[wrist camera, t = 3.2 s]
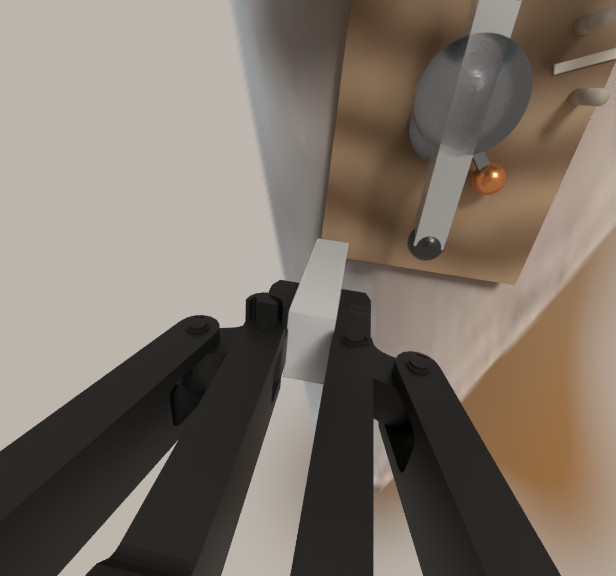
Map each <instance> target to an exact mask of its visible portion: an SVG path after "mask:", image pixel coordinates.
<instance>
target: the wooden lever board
mask: <svg viewBox="0 0 616 576" xmlns="http://www.w3.org/2000/svg"><path fill="white" fill-rule="evenodd" d="M471 2H472V0H351V2H350V10H349V19H348V27H347V35H346V43H345V51H344V59H343V67H342V75H341V83H340V91H339V99H338V107H337V115H336V123H335V131H334V139H333V148H332V156H331V164H330V172H329V180H328V188H327V196H326V204H325V212H324V220H323V228H322V236H321V239H325V240H332V241H338V242H345V243H349V245H348V251H347V257H346V258H347V259H353V260H359V261H365V262H372V263H378V264H384V265H391V266H397V267H403V268H410V269H416V270H422V271H429V272H435V273H441V274H447V275H454V276H460V277H466V278H473V279H479V280H485V281H492V282H498V283H504V284H511V285H515V284H516V282H517V280H518V277H519V275H520V273H521V271H522V268H523V266H524V264H525V262H526V260H527V257H528V255H529V253H530V251H531V248H532V246H533V244H534V242H535V240H536V237H537V235H538V233H539V231H540V228H541V226H542V224H543V222H544V220H545V217H546V215H547V213H548V211H549V208H550V206H551V204H552V202H553V200H554V197H555V195H556V193H557V191H558V188H559V186H560V184H561V182H562V180H563V177H564V175H565V173H566V171H567V168H568V166H569V164H570V162H571V160H572V157H573V155H574V153H575V151H576V148H577V146H578V144H579V142H580V140H581V137H582V135H583V133H584V131H585V128H586V126H587V124H588V122H589V120H590V117H591V115H592V113H593V111H594V109H595V106H601V105H603V104H605V103H606V102H607V101H608V99H609V97H610V91H609V90H608V89H607V88H604V86H605V84H606V82H607V80H608V77H609V75H610V73H611V71H612V69H613V66H614V64H615V62H616V0H522V2H521V5H520V8H519V12H518V15H517V18H516V21H515V24H514V27H513V31H512V34H511V37H510V39H512V40H513V41H514V42H516V43H517V44H518V45H519V46H520V47H521V48H522V50H523V51H524V53H525V54H526V56H527V58H528V60H529V63H530V66H531V71H532V92H531V97H530V100H529V104H528V106H527V109H526V111H525V113H524V115H523V117H522V119H521V120H520V122H519V123H518V125H517V126H516V127H515V129H514V130H513V131H512V132H511V133H510V134H509V135H508V136H507V137H506V138H505V139H504V140H502V141H501V142H500V143H498V144H497V145H495V146H494V147H492V148H490V149H488V150H486V151H485V154H486V156H487V158H488V160H489V162H496V163H499V164H501V165H502V166H503V167H504V168H505V170H506V172H507V181H506V183H505V185H504V187H503V188H502V189H501V190H500V191H499V192H497V193H495V194H492V195H482V194H479V193H477V192H476V191H475V190H474V188H473V187H472V183H471V179H472V175H473V173H474V171H475V170H476V169H477V168H476V166H475V164H474V162H473V160H472V161H471V164H470V167H469V170H468V173H467V177H466V180H465V183H464V186H463V189H462V192H461V196H460V199H459V202H458V205H457V208H456V212H455V215H454V218H453V221H452V224H451V227H450V231H449V234H448V237H447V240H446V247H445V249H444V251H443V253H442V254H441V255H440V256H439V257H437V258H436V259H434V260H430V261H422V260H419V259H416V258H415V257H414V256H413V255H412V254H411V253H410V251H409V249H408V245H407V242H408V237H409V235H410V233H411V232H412V230H413V226H414V222H415V218H416V214H417V210H418V206H419V203H420V199H421V195H422V191H423V187H424V183H425V179H426V176H427V172H428V168H429V164H430V162H428V161H426V160H424V159H423V158H421V157H420V156H419V155H418V154H417V153H416V151H415V150H414V149H413V147H412V145H411V144H410V141H409V138H408V132H407V127H408V120H409V116H410V114H411V111H412V101H413V94H414V90H415V86H416V83H417V81H418V78H419V77H420V75H421V73H422V71H423V70H424V68H425V67H426V65H427V64H428V63H429V61H430V60H431V59H432V58H433V57H434V56H435V55H436V54H437V53H438V52H440V51H441V50H442V49H444V48H445V47H447V46H448V45H450V44H451V43H453V42H455V41H456V40H458V39H460V38H462V37H463V33H464V29H465V25H466V21H467V17H468V13H469V10H470V6H471Z"/></svg>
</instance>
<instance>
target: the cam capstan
mask: <svg viewBox="0 0 616 576" xmlns="http://www.w3.org/2000/svg"><path fill="white" fill-rule="evenodd" d="M521 2H522V0H472V2H471V6H470V10H469V13H468V17H467V21H466V25H465V29H464V33H463V37H462V38H460V39H458V40H456V41H455V42H453V43H451V44H450V45H448V46H447V47H445V48H444V49H442V50H441V51H440V52H438V53H437V54H436V55H435V56H434V57H433V58H432V59H431V60H430V61H429V63H428V64H427V65H426V67H425V68H424V70H423V71H422V73H421V75H420V77H419V78H418V81H417V83H416V86H415V90H414V94H413V101H412V111H411V114H410V116H409V120H408V127H407V132H408V138H409V141H410V144H411V145H412V147H413V149H414V150H415V151H416V153H417V154H418V155H419V156H420V157H421V158H423V159H424V160H426V161H428V162H430V164H429V168H428V172H427V176H426V179H425V183H424V187H423V191H422V195H421V199H420V203H419V206H418V210H417V214H416V218H415V222H414V226H413V230H412V232H411V233H410V235H409V237H408V242H407V245H408V249H409V251H410V253H411V254H412V255H413V256H414V257H415V258H416V259H419V260H422V261H430V260H434V259H436V258H437V257H439V256H440V255H441V254H442V253H443V251H444V249H445V247H446V240H447V237H448V234H449V231H450V227H451V224H452V221H453V218H454V215H455V212H456V208H457V205H458V202H459V199H460V196H461V192H462V189H463V186H464V183H465V180H466V177H467V173H468V170H469V167H470V164H471V161H472V160H473V162H474V164H475V166H476V168H477V169H476V170H475V171H474V173H473V175H472V179H471V183H472V187H473V188H474V190H475V191H476V192H477V193H479V194H482V195H492V194H495V193H497V192H499V191H500V190H501V189H502V188H503V187H504V185H505V183H506V181H507V172H506V170H505V168H504V167H503V166H502V165H501V164H499V163H496V162H489V160H488V158H487V156H486V154H485V151H486V150H488V149H490V148H492V147H494V146H495V145H497V144H498V143H500V142H501V141H502V140H504V139H505V138H506V137H507V136H508V135H509V134H510V133H511V132H512V131H513V130H514V129H515V127H516V126H517V125H518V123H519V122H520V120H521V119H522V117H523V115H524V113H525V111H526V109H527V106H528V104H529V100H530V97H531V92H532V71H531V66H530V63H529V60H528V58H527V56H526V54H525V53H524V51H523V50H522V48H521V47H520V46H519V45H518V44H517V43H516V42H514V41H513V40H512V39H510V37H511V34H512V31H513V27H514V24H515V21H516V18H517V15H518V12H519V8H520V5H521Z"/></svg>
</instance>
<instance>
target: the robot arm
mask: <svg viewBox="0 0 616 576" xmlns="http://www.w3.org/2000/svg"><path fill="white" fill-rule="evenodd" d="M348 245H349V243H345V242H338V241H332V240H325V239H319V238H317V241H316V243H315V246H314V248H313V251H312V253H311V256H310V259H309V261H308V264H307V266H306V269H305V271H304V274H303V276H302V279H301V281H300V283H296V282H290V281H284V280H279V281H278V282H276V283H275V284H273V285H272V286H271V288H270V290H269V293H264V292H263V293H256V294H254V295H251V296H249V297H248V298H247V299H246V321H245V323H244V325H243V326H240V327H235V328H219V323H218V321H217V320H216V319H214V318H212V317H209V316H205V315H195V316H191V317H187V318H185V319H183V320H182V321H180V322H178V323H177V324H176V325H174V326H173V327H171V328H170V329H169V330H167V331H166V332H165V333H163V334H162V335H160V336H159V337H158V338H156V339H155V340H153V341H152V342H151V343H149V344H148V345H147V346H145V347H144V348H143V349H141V350H140V351H138V352H137V353H136V354H134V355H133V356H131V357H130V358H129V359H127V360H126V361H125V362H123V363H122V364H120V365H119V366H118V367H116V368H115V369H114V370H112V371H111V372H109V373H108V374H106V375H105V376H104V377H102V378H101V379H100V380H98V381H97V382H95V383H94V384H93V385H91V386H90V387H89V388H87V389H86V390H84V391H83V392H82V393H80V394H79V395H77V396H76V397H75V398H73V399H72V400H71V401H69V402H68V403H66V404H65V405H64V406H62V407H61V408H59V409H58V410H57V411H55V412H54V413H53V414H51V415H50V416H48V417H47V418H46V419H44V420H43V421H42V422H40V423H39V424H37V425H36V426H35V427H33V428H32V429H30V430H29V431H28V432H26V433H25V434H24V435H22V436H21V437H20V438H18V439H17V440H15V441H14V442H13V443H11V444H10V445H8V446H7V447H6V448H4V449H3V450H1V451H0V576H57V575H58V574H59V573H60V572H61V571H62V570H63V569H64V567H65V566H66V565H67V564H68V563H69V562H70V561H71V560H72V558H73V557H74V556H75V555H76V554H77V553H78V552H79V551H80V549H81V548H82V547H83V546H84V545H85V544H86V543H87V541H88V540H89V539H90V538H91V537H92V536H93V535H94V534H95V533H96V532H97V530H98V529H99V528H100V527H101V526H102V525H103V524H104V523H105V521H106V520H107V519H108V518H109V517H110V516H111V515H112V514H113V512H114V511H115V510H116V509H117V508H118V507H119V505H120V504H121V503H122V502H123V501H124V500H125V499H126V498H127V497H128V496H129V494H130V493H131V492H132V491H133V490H134V489H135V488H136V487H137V485H138V484H139V483H140V482H141V481H142V480H143V479H144V478H145V477H146V475H147V474H148V473H149V472H150V471H151V470H152V469H153V468H154V466H155V465H156V464H157V463H158V462H159V461H160V460H161V458H162V457H163V456H164V455H165V454H166V453H167V452H168V451H169V450H170V448H171V447H172V446H173V445H174V444H175V443H176V442H177V441H178V442H177V444H176V445H175V447H174V449H173V451H172V452H171V454H170V456H169V458H168V460H167V461H166V463H165V465H164V467H163V468H162V470H161V472H160V474H159V476H158V477H157V479H156V481H155V483H154V484H153V486H152V488H151V490H150V492H149V493H148V495H147V497H146V499H145V500H144V502H143V504H142V506H141V508H140V509H139V511H138V513H137V514H136V516H135V518H134V520H133V522H132V524H131V525H130V527H129V529H128V531H127V532H126V534H125V536H124V538H123V539H122V541H121V543H120V545H119V546H118V548H117V549H116V551H115V552H114V553H113V554H112V555H111V556H110V557H109V558H108V559H106V560H103V561H101V562H99V563H97V564H96V565H95V566H94V567H93V568H92V569H91V570H90V571H89V572H88V573H87V574H86V576H221V574H222V571H223V568H224V564H225V561H226V558H227V555H228V552H229V548H230V545H231V542H232V539H233V536H234V533H235V529H236V526H237V523H238V520H239V517H240V513H241V510H242V507H243V504H244V500H245V498H246V494H247V491H248V488H249V485H250V482H251V479H252V475H253V472H254V469H255V466H256V463H257V459H258V456H259V453H260V450H261V447H262V444H263V440H264V437H265V434H266V431H267V428H268V425H269V421H270V418H271V415H272V412H273V408H274V406H275V402H276V399H277V396H278V393H279V390H280V383H281V375H282V372H283V369H284V372H283V376H284V377H288V378H293V379H299V380H304V381H309V382H314V383H320V384H324V385H323V391H322V397H321V403H320V408H319V414H318V420H317V425H316V431H315V437H314V443H313V449H312V454H311V460H310V466H309V471H308V477H307V483H306V488H305V494H304V500H303V506H302V511H301V517H300V523H299V529H298V534H297V541H296V546H295V552H294V558H293V563H292V569H291V574H290V576H373V418H374V419H376V420H378V424H379V429H380V433H381V436H382V439H383V443H384V446H385V449H386V453H387V456H388V459H389V463H390V466H391V469H392V473H393V476H394V479H395V482H396V486H397V490H398V493H399V496H400V499H401V503H402V506H403V510H404V513H405V516H406V520H407V523H408V526H409V529H410V533H411V536H412V539H413V543H414V546H415V550H416V553H417V556H418V560H419V563H420V567H421V570H422V573H423V576H561V575H560V573H559V572H558V570H557V568H556V566H555V565H554V563H553V561H552V560H551V558H550V556H549V554H548V553H547V551H546V549H545V547H544V546H543V544H542V542H541V540H540V539H539V537H538V536H537V534H536V532H535V530H534V528H533V527H532V525H531V523H530V522H529V520H528V518H527V516H526V515H525V513H524V511H523V509H522V508H521V506H520V504H519V503H518V501H517V500H516V498H515V496H514V494H513V492H512V491H511V489H510V487H509V485H508V484H507V482H506V480H505V479H504V477H503V475H502V473H501V472H500V470H499V468H498V467H497V465H496V463H495V461H494V460H493V458H492V456H491V454H490V453H489V451H488V450H487V448H486V446H485V444H484V443H483V441H482V439H481V437H480V435H479V434H478V432H477V430H476V429H475V427H474V425H473V423H472V422H471V420H470V418H469V417H468V415H467V413H466V411H465V410H464V408H463V406H462V405H461V403H460V401H459V399H458V398H457V396H456V394H455V392H454V391H453V389H452V387H451V386H450V384H449V382H448V380H447V379H446V377H445V375H444V373H443V372H442V370H441V368H440V367H439V365H438V364H437V363H436V362H435V361H434V360H433V359H431V358H430V357H428V356H426V355H424V354H421V353H418V352H412V351H409V352H403V353H401V354H399V355H398V356H397V358H394V357H392V356H389V355H387V354H385V353H383V352H381V351H380V350H378V349H377V348H376V347H375V346H374V345H373V341H372V338H371V337H370V331H371V315H370V314H371V300H370V299H369V297H368V296H367V294H366V293H362V292H356V291H350V290H344V289H341V288H342V282H343V276H344V269H345V263H346V257H347V251H348Z"/></svg>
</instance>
